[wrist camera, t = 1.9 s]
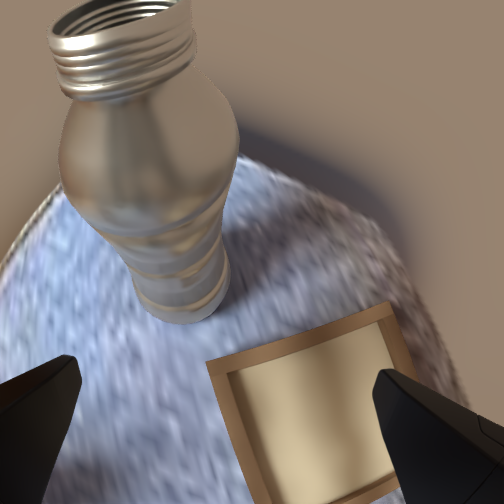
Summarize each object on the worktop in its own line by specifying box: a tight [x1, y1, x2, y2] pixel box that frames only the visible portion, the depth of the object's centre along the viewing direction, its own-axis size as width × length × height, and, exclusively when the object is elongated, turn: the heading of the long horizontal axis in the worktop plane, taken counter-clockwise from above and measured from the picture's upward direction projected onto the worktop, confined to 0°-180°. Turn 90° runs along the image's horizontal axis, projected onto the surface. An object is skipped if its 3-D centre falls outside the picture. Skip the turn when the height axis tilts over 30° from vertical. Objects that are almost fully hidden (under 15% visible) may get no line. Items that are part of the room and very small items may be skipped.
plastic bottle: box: [47, 0, 239, 325], centre depth 14 cm, size 6×7×20 cm
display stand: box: [206, 300, 420, 504], centre depth 19 cm, size 13×13×3 cm
